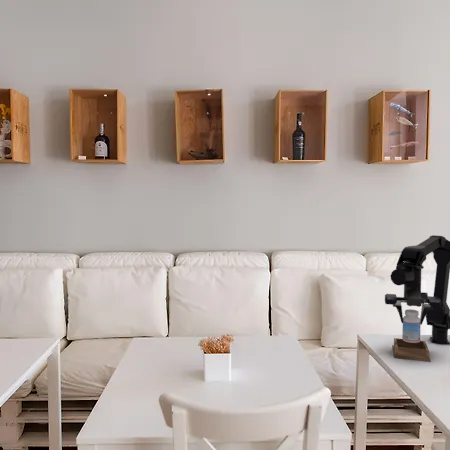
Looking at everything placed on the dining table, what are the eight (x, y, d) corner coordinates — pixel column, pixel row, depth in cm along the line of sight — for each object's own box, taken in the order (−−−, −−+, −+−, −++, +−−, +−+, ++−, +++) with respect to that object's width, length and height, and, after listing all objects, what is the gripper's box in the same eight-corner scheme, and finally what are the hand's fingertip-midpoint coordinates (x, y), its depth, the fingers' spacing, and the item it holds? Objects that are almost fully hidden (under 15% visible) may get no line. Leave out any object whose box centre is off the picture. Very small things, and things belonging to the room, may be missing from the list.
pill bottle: (423, 343, 158) (423, 313, 157) (406, 343, 158) (406, 313, 158) (416, 338, 164) (416, 308, 164) (399, 338, 164) (400, 308, 164)
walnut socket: (392, 347, 169) (392, 337, 169) (426, 350, 165) (426, 340, 165) (394, 358, 158) (394, 347, 157) (430, 361, 154) (430, 351, 154)
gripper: (386, 284, 155) (385, 327, 156) (444, 287, 149) (443, 332, 150) (385, 278, 166) (384, 319, 167) (439, 281, 160) (438, 323, 161)
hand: (411, 323), depth 161 cm, fingers closed on pill bottle, 6 cm apart
